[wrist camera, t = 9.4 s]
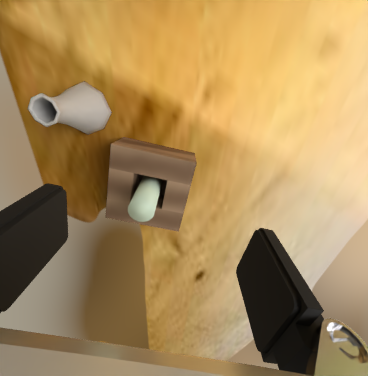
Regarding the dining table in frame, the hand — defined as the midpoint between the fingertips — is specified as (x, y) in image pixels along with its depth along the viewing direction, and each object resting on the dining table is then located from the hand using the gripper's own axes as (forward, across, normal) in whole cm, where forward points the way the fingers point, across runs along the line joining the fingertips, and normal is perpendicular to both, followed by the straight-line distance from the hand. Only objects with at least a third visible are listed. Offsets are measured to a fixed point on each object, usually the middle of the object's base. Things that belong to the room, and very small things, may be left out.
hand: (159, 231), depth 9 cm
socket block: (+24, +3, +8) cm, 25 cm away
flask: (+24, +15, -1) cm, 29 cm away
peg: (+23, +3, +8) cm, 24 cm away
